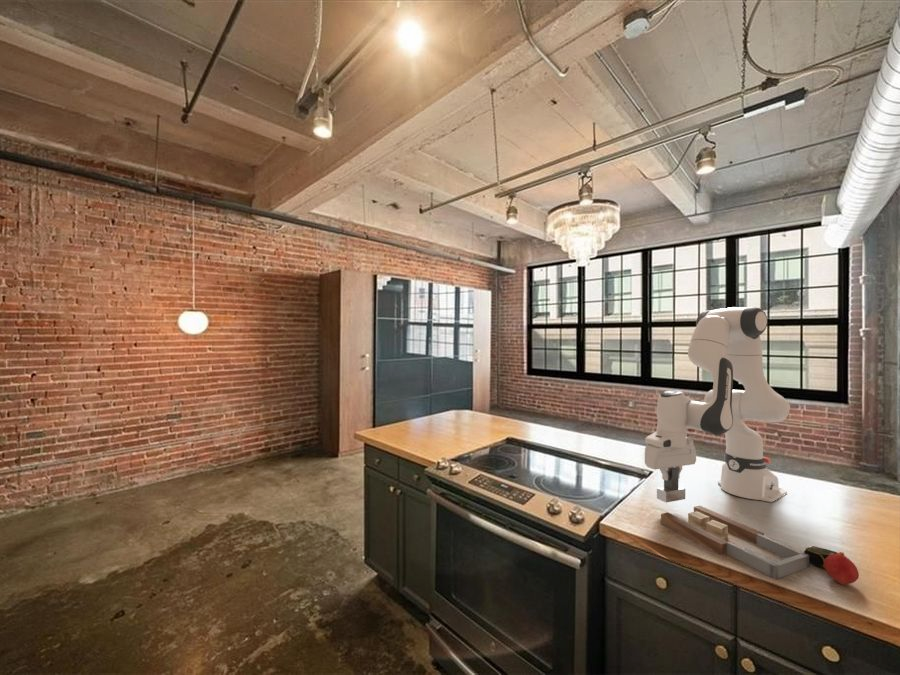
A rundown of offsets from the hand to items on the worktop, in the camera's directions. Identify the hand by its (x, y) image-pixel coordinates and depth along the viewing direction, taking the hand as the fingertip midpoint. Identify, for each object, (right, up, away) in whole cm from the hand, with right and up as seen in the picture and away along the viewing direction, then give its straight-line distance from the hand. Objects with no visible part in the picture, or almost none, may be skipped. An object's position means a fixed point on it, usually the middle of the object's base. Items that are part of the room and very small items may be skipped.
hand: (670, 479), depth 125 cm
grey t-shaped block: (0, -7, 0) cm, 7 cm away
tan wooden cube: (+4, -12, -9) cm, 15 cm away
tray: (+10, -12, -26) cm, 31 cm away
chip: (+5, -12, -15) cm, 20 cm away
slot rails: (+5, -12, -12) cm, 18 cm away
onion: (+20, -12, -36) cm, 43 cm away
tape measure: (+26, -12, -29) cm, 41 cm away
